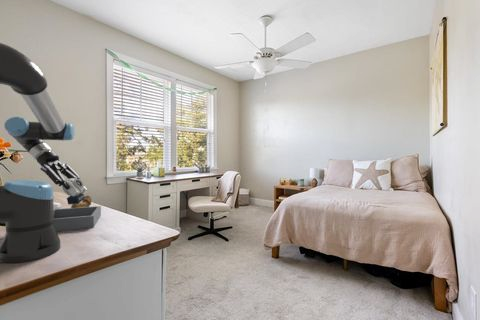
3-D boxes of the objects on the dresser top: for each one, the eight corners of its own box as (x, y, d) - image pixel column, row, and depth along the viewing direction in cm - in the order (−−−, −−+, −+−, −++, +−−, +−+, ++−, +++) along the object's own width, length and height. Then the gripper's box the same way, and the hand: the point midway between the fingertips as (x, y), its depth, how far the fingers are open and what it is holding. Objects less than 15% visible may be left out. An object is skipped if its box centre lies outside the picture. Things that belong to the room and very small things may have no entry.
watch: (83, 203, 107) (77, 180, 104) (64, 205, 106) (58, 181, 103) (89, 198, 112) (84, 176, 110) (70, 199, 112) (65, 177, 109)
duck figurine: (61, 216, 126) (61, 198, 131) (61, 210, 121) (61, 191, 126) (31, 220, 119) (32, 200, 124) (30, 214, 114) (31, 193, 119)
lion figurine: (84, 210, 131) (84, 194, 131) (94, 210, 131) (94, 194, 131) (65, 218, 116) (64, 200, 116) (76, 218, 116) (75, 200, 116)
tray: (93, 227, 103) (93, 216, 103) (36, 233, 95) (35, 220, 95) (100, 215, 121) (100, 206, 121) (53, 219, 114) (52, 209, 114)
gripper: (56, 160, 117) (88, 194, 117) (20, 162, 99) (58, 202, 99) (66, 150, 117) (98, 184, 117) (32, 149, 98) (70, 190, 98)
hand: (80, 192), depth 108 cm, fingers closed on watch, 5 cm apart
